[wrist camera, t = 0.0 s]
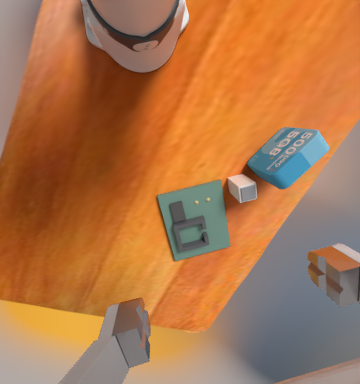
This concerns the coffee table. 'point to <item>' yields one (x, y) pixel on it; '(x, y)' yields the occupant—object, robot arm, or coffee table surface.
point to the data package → (288, 156)
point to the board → (195, 219)
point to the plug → (242, 188)
